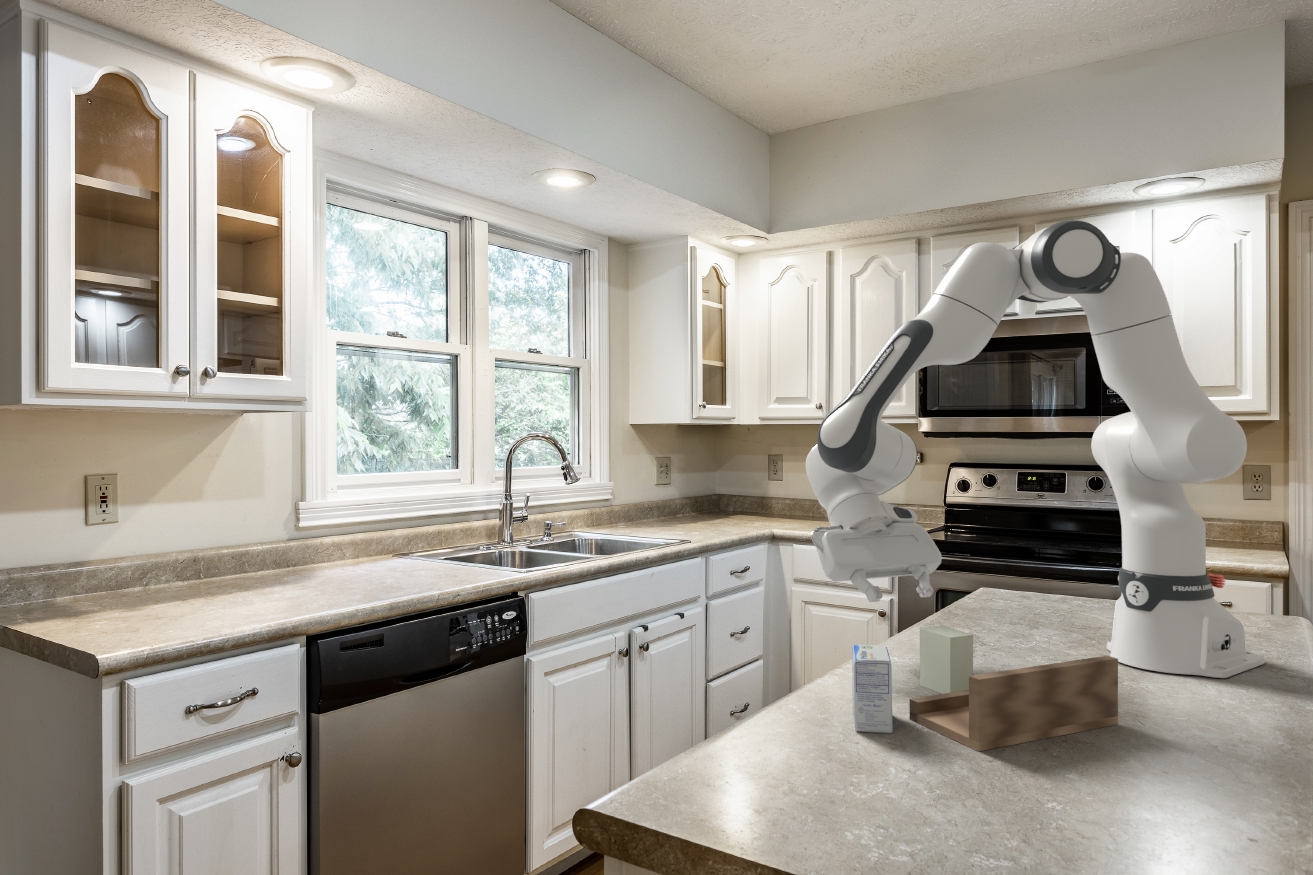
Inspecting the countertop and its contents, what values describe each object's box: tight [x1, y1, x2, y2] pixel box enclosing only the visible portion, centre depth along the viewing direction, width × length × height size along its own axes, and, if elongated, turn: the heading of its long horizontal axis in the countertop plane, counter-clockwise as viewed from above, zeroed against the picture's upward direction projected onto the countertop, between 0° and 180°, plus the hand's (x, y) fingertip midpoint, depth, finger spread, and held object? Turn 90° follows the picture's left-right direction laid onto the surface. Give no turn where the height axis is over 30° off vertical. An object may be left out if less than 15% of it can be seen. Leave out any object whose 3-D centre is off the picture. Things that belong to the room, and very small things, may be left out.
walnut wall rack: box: [909, 655, 1119, 752], centre depth 102 cm, size 22×12×8 cm, turn 113°
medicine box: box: [851, 644, 894, 735], centre depth 102 cm, size 8×4×9 cm, turn 168°
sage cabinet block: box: [919, 625, 974, 694], centre depth 115 cm, size 4×6×8 cm, turn 23°
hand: (902, 597), depth 124 cm, fingers open, 8 cm apart
